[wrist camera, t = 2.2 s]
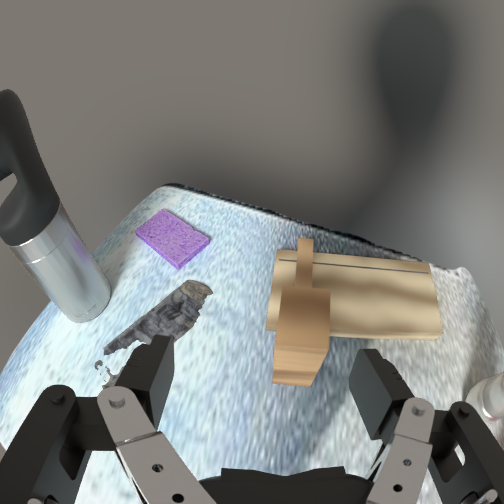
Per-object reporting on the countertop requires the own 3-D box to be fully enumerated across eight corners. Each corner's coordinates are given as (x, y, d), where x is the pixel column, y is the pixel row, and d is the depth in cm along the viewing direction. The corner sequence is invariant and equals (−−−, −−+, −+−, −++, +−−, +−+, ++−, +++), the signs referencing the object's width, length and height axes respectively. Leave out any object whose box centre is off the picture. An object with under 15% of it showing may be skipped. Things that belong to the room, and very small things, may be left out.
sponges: (179, 272, 45) (176, 264, 44) (136, 236, 51) (133, 229, 49) (211, 245, 48) (209, 237, 47) (165, 214, 54) (163, 207, 53)
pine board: (435, 339, 34) (442, 332, 33) (266, 330, 38) (266, 322, 36) (423, 271, 42) (428, 263, 40) (276, 258, 45) (276, 248, 44)
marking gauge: (310, 386, 32) (328, 349, 23) (272, 383, 33) (274, 344, 24) (317, 267, 44) (328, 205, 35) (287, 264, 44) (291, 202, 35)
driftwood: (195, 277, 44) (192, 269, 43) (226, 305, 41) (224, 297, 39) (89, 362, 35) (81, 356, 34) (112, 398, 32) (104, 394, 30)
